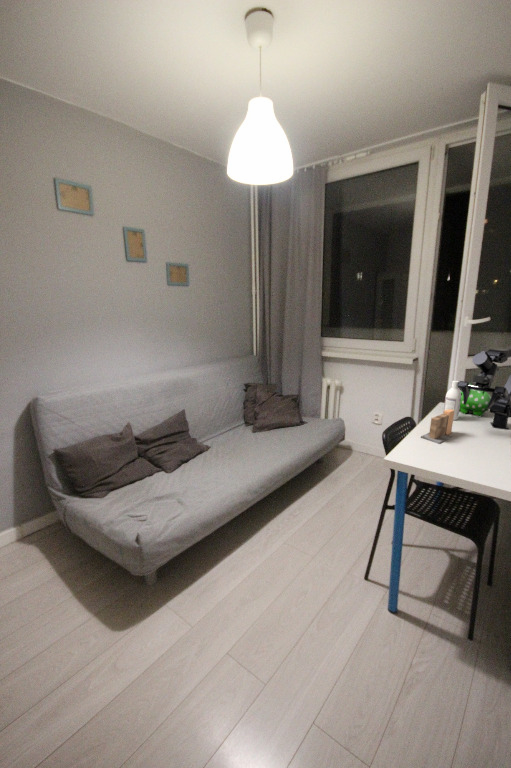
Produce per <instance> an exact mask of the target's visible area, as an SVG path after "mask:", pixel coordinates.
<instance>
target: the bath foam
mask: <svg viewBox="0 0 511 768" xmlns="http://www.w3.org/2000/svg"><path fill="white" fill-rule="evenodd" d="M458 382H460V380H452V381H451V387H450V388H449V389H448V391H447V392H446V393H445V397H444V398H445V400H444V405H443V411H442V413H443V412H444V411H445V410H447V409H451V410H455V411H454V418H453V421H457V420H458V419H459V414H460V402H461V393H460V392H461V390H460V389H459V388H458V387H457V384H458Z"/></svg>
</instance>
